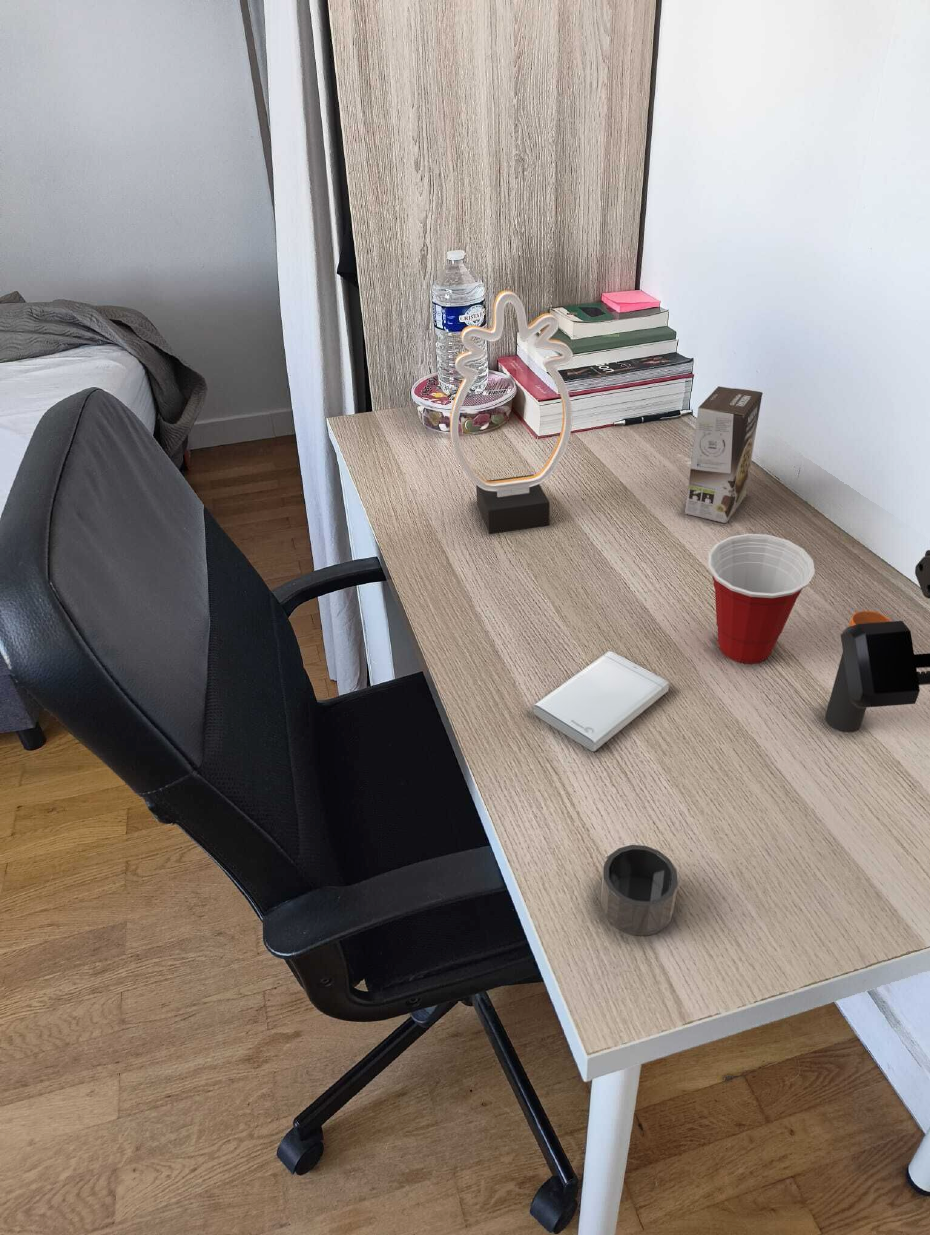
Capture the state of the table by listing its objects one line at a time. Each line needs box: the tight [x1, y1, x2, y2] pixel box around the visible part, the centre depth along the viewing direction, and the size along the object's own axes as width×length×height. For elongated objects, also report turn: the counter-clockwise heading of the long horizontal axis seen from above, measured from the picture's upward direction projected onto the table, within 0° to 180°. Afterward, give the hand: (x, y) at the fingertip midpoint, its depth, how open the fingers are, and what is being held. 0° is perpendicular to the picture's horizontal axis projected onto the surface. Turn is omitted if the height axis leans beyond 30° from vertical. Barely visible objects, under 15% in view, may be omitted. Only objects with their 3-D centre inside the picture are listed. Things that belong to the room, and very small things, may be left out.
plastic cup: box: [707, 533, 816, 664], centre depth 92 cm, size 11×11×12 cm
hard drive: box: [533, 650, 670, 752], centre depth 89 cm, size 2×8×12 cm
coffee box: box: [684, 386, 764, 524], centre depth 117 cm, size 9×6×16 cm
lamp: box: [449, 290, 574, 535], centre depth 113 cm, size 17×9×32 cm, turn 101°
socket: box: [600, 844, 679, 937], centre depth 68 cm, size 6×6×4 cm
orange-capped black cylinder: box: [824, 610, 892, 733], centre depth 82 cm, size 4×4×12 cm
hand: (915, 668), depth 71 cm, fingers open, 9 cm apart
